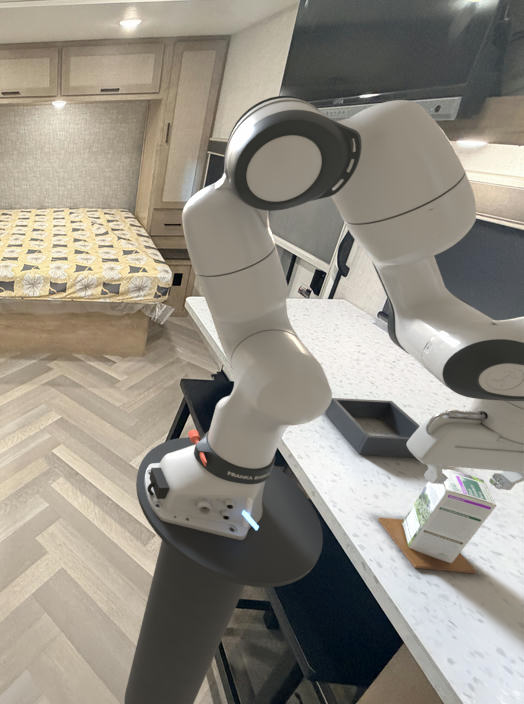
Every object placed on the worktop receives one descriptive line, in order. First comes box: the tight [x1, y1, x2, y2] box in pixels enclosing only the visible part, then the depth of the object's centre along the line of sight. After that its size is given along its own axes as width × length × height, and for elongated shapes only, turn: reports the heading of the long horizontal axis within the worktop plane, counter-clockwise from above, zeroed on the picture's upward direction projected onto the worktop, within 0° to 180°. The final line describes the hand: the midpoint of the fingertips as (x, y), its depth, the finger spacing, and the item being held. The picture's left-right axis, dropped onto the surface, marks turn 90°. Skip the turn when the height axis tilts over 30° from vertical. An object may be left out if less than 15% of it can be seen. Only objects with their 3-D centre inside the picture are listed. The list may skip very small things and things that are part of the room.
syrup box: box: [402, 468, 497, 563], centre depth 65 cm, size 6×6×14 cm
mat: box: [377, 517, 477, 574], centre depth 69 cm, size 9×9×1 cm
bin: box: [324, 397, 421, 459], centre depth 91 cm, size 14×14×5 cm
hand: (465, 483), depth 62 cm, fingers open, 8 cm apart
